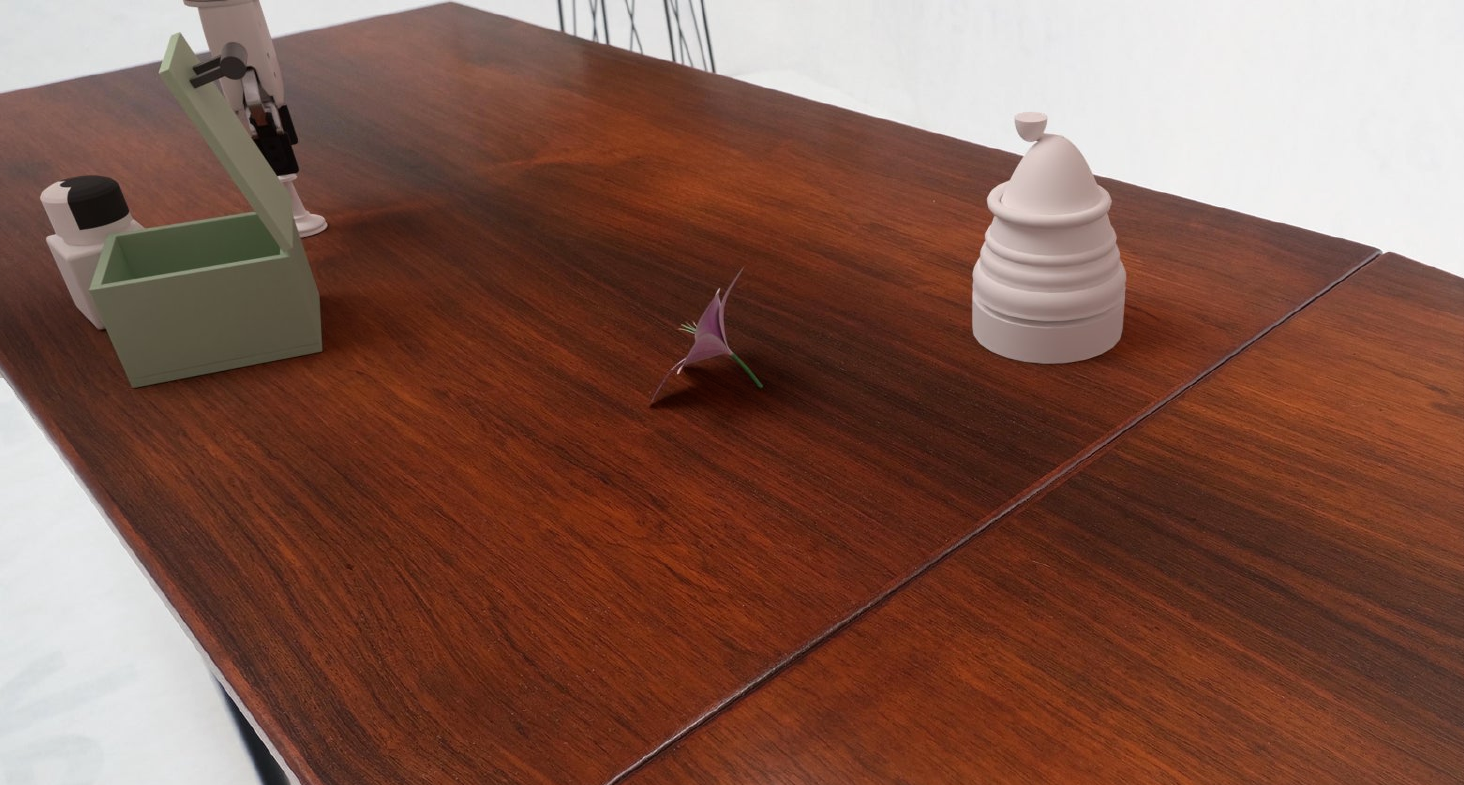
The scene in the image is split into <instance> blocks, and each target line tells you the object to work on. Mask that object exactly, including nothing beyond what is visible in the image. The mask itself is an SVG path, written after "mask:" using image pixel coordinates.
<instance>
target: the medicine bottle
mask: <svg viewBox="0 0 1464 785" xmlns="http://www.w3.org/2000/svg"><path fill="white" fill-rule="evenodd" d="M39 199H40V202H41V204H42V206H43V208H44V210H45V212H46V215H47V217H48V219H49V222H50V224H51V226H52V228H53V230H54V233H55V234H51V235H48V236H46V238H45V242H46V244H47V246H48V248H49V251H50V252H51V255H52V257H53V259H54V261H55V264H56V266H57V268H58V271H59V272H60V274H61V277H62V280H63V281H64V284H65V285H66V288H67V290H68V292H69V294H70V296H71V299H72V301H73V303H74V305H75V307H76V308H77V309H78V310H79V311H80V313H82V314H83V315H84V317H86V319H88V320H89V322H90V323H91V324H93V326H94V327H95V328H96V329H97V330H99V331H103V330H106V328H105V326H104V323H103V321H102V319H101V317H100V315H99V312H98V310H97V308H96V306H95V303H94V301H93V299H92V297H91V294H90V292H89V288H90V286H91V283H92V280H93V277H94V274H95V271H96V267H97V264H98V261H99V258H100V255H101V252H102V249H103V246H104V243H105V240H106V237H107V235H108V234H115V233H121V232H128V231H134V230H140V229H146V227H144V226H143V225H142V224H140V223H139V222H138V221H137V220H135V219H134V218H133V216H132V213H131V211H130V208H129V206H128V204H127V201H126V198H125V196H124V193H123V191H122V188H121V186H120V184H119V182H118V181H116V180H115V179H114V178H112V177H109V176H104V175H96V174H94V175H93V174H87V175H79V176H72V177H68V178H65V179H62V180H57V181H56V182H53V183H52V184H50V185H49V186H48V187H46V188H45V189H43V191H42V192H41V194H40V196H39Z"/></svg>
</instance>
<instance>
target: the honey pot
mask: <svg viewBox="0 0 1464 785" xmlns="http://www.w3.org/2000/svg"><path fill="white" fill-rule="evenodd" d="M1047 125H1048V115H1047V114H1045V113H1042V112H1036V111H1028V112H1027V111H1026V112H1020V113H1018V114H1016V115H1014V126H1015V130H1016V132H1017V134H1018V136H1019V137H1020V138H1021V140H1023V141H1024V142H1027V143H1034V142H1035V143H1034V144H1033V145H1032V146H1031V147H1030V148H1028V150H1027V151H1026V152H1025V154H1024V155H1023V156H1022V158H1021V160H1020V161H1019V163H1018V164H1017V166H1016V168H1015V170H1014V171H1013V173H1012V175H1011V177H1010V179H1009V180H1007V181H1004V182H1003V183H1000V184H998V185H997V186H995V187H994V188H993V189H991V191H990V192H989V194H988V195H987V198H986V203H987V209H988V211H990V212H991V214H993V219H992V221H991V223H990V224H989V226H988V228H987V230H986V231H985V233H984V240H985V241H984V242H983V244H982V246H981V248H980V252H979V255H980V256H979V257H978V259H977V261H976V262H975V265H974V267H973V271H972V285H971V286H972V294H971V298H972V299H971V301H972V302H971V311H972V313H971V316H972V317H971V318H972V319H971V322H972V324H971V327H972V335H973V337H974V338H975V339H976V341H977V342H978V343H979V345H981V346H982V347H984V348H985V349H987V350H988V351H990V352H991V353H994V354H996V355H998V356H1001V357H1004V358H1006V359H1011V360H1014V361H1019V362H1023V363H1033V364H1043V365H1050V364H1051V365H1052V364H1068V363H1074V362H1080V361H1081V362H1082V361H1085V360H1089V359H1092V358H1095V357H1097V356H1100V355H1101V356H1102V355H1103V354H1104V353H1106V352H1108V351H1110V350H1111V349H1114V347H1115V346H1116V345H1117V344H1118V342H1119V341H1120V340H1121V339H1122V338H1121V337H1122V333H1123V328H1124V317H1125V316H1124V314H1125V303H1126V302H1125V301H1126V295H1125V294H1126V283H1127V271H1126V268H1125V266H1124V264H1123V262H1122V260H1121V251H1120V249H1119V246H1118V244H1117V240H1118V237H1117V233H1116V231H1115V229H1114V227H1113V226H1112V225H1111V221H1110V218H1109V214H1108V213H1109V211H1110V209H1111V206H1112V203H1113V202H1112V197H1111V195H1110V192H1108V190H1106V188H1104V187H1103V186H1101V185H1099V184H1098V183H1097V181H1096V178H1095V176H1094V173H1093V172H1092V169H1091V167H1090V165H1089V163H1088V162H1087V160H1086V158H1085V156H1084V155H1083V154H1082V152H1081V150H1080V149H1079V148H1078V146H1076V145H1075V144H1074V143H1073V142H1072V141H1071V140H1070V139H1069V138H1067V137H1065V136H1064V135H1062V134H1054V133H1053V134H1052V133H1045V130H1046V128H1047Z"/></svg>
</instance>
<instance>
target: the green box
mask: <svg viewBox="0 0 1464 785" xmlns="http://www.w3.org/2000/svg"><path fill="white" fill-rule="evenodd" d="M292 224H293V249H291V250H289V251H287V252H283V251H282V250H281V248H280V247H279V245H278V244H277V242H276V241H275V240H274V238H273V237H272V235H271V234H270V232H269V231H268V230H267V228H266V227H265V225H264V224H263V222H262V221H261V220H260V218H259V217H258V215H257V214H256V212H255V211H249V212H244V213H243V212H242V213H237V214H230V215H223V216H219V217H218V216H217V217H210V218H205V219H199V220H193V221H191V220H190V221H185V222H179V223H174V224H173V223H172V224H167V225H161V226H160V225H159V226H153V227H148V228H145V229H140V230H134V231H128V232H121V233H115V234H108V235H107V237H106V240H105V243H104V246H103V249H102V252H101V255H100V258H99V261H98V264H97V267H96V271H95V274H94V277H93V280H92V283H91V286H90V288H89V292H90V294H91V297H92V299H93V301H94V303H95V306H96V308H97V310H98V312H99V315H100V317H101V319H102V321H103V323H104V326H105V328H106V329H105V330H106V332H107V335H108V337H109V339H110V341H111V343H112V346H113V348H114V350H115V353H116V355H117V357H118V360H119V362H120V364H121V366H122V368H123V370H124V373H125V375H126V377H127V379H128V382H129V384H130V386H131V388H132V389H136V388H142V387H147V386H152V385H156V384H162V383H166V382H171V381H172V382H173V381H177V380H181V379H187V378H192V377H193V378H194V377H198V376H204V375H208V374H213V373H219V372H224V371H229V370H234V369H235V370H236V369H239V368H246V367H249V366H254V365H260V364H265V363H271V362H275V361H281V360H285V359H290V358H295V357H296V358H297V357H301V356H306V355H311V354H316V353H321V352H323V338H322V337H323V336H322V319H321V318H322V317H321V300H320V298H321V297H320V293H319V290H318V287H317V283H316V281H315V277H314V275H313V271H312V268H311V266H310V263H309V259H308V256H307V253H306V250H305V247H304V245H303V241H302V238H300V235H299V232H298V229H297V226H296V223H295V220H294V217H293V214H292Z"/></svg>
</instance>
